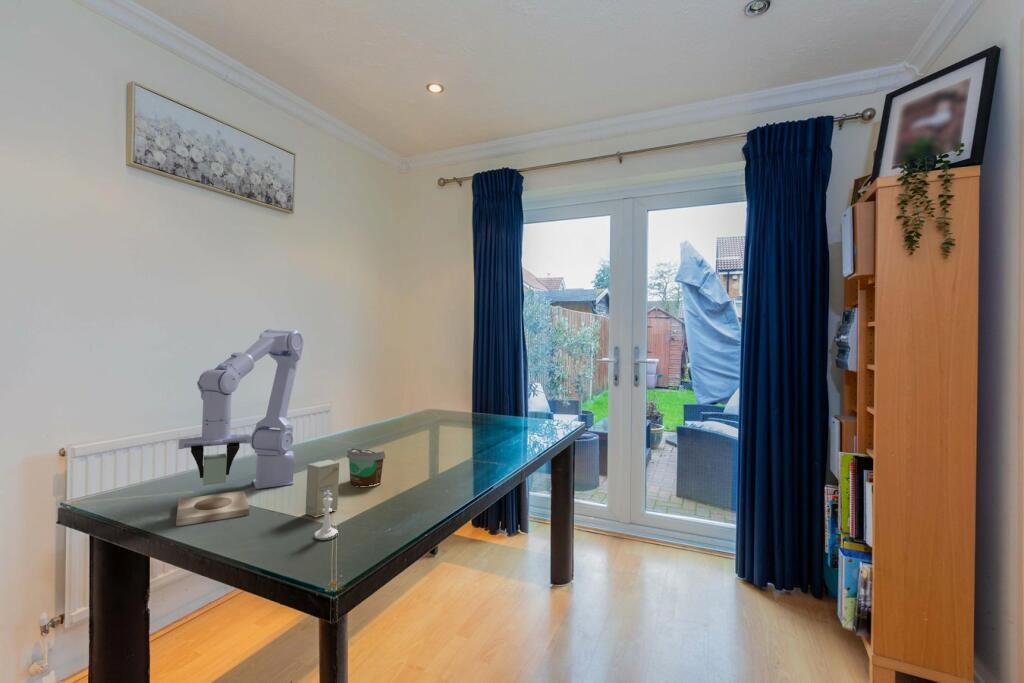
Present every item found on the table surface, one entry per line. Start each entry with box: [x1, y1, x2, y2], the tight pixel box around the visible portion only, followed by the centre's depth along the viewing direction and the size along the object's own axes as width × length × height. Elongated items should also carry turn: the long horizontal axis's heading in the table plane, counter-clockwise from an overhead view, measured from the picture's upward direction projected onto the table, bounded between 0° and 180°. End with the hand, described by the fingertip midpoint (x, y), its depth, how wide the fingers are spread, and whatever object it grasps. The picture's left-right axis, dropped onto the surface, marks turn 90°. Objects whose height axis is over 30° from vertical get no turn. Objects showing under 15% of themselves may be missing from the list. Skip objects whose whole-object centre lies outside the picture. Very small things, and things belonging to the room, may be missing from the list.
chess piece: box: [313, 490, 339, 538], centre depth 100 cm, size 5×5×10 cm
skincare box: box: [305, 459, 340, 517], centre depth 112 cm, size 6×4×12 cm
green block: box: [202, 452, 227, 486], centre depth 111 cm, size 4×4×6 cm
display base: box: [175, 490, 250, 527], centre depth 111 cm, size 14×14×2 cm
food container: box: [346, 445, 386, 488], centre depth 134 cm, size 12×6×10 cm, turn 68°
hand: (214, 475), depth 111 cm, fingers closed on green block, 4 cm apart
